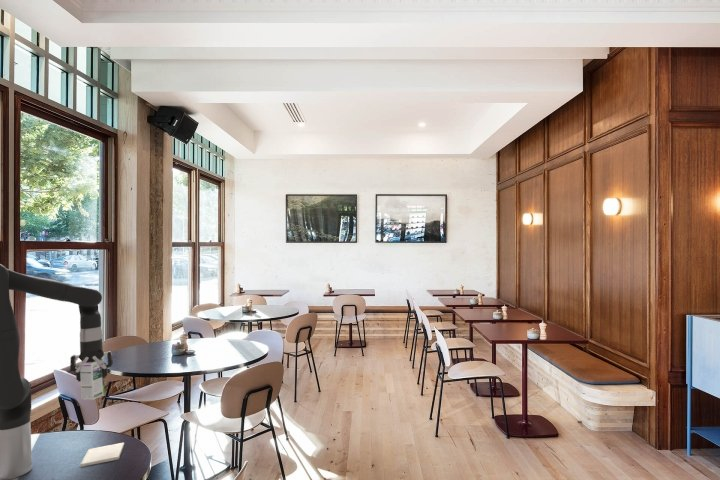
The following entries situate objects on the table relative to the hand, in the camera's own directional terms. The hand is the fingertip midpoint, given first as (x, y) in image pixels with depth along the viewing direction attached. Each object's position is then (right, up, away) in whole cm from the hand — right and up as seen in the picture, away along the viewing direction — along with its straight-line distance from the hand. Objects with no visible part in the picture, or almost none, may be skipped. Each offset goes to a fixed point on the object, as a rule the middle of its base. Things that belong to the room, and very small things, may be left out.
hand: (92, 379), depth 164 cm
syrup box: (0, -7, 0) cm, 7 cm away
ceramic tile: (+10, -26, -9) cm, 29 cm away
